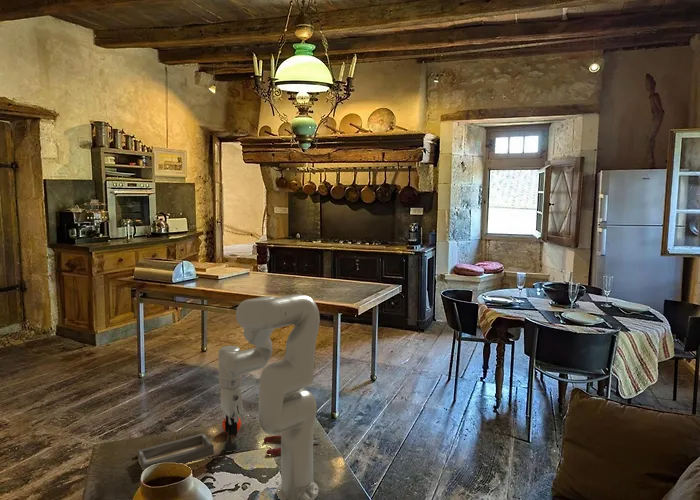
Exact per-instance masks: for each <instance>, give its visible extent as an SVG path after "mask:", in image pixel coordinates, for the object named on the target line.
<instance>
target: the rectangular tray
mask: <svg viewBox="0 0 700 500" xmlns="http://www.w3.org/2000/svg"><path fill="white" fill-rule="evenodd" d="M214 446H215V445H213V443H212V442H211V440H209V437H207V435H206V434H205V433H203V432H202V433H198V434H194V435H191V436H187V437H183V438H179V439H175V440H172V441H169V442H164V443H160V444H157V445H153V446H148V447H145V448H142V449H141V448H140V449H138V450H137V452H138V453H137V454H138V456H137V457H138V459H137V461H138V463H139V465H140V468H141V470H142V471H143V470H144V469H146V468H147V467H149V466H151V465H153V464H157V463H162V462H176V463H184V464H186V463H188V462H192V461H196V460H200V459H204V458H208V457H212V456H214V457H215V451H214V450H215V449H214Z"/></svg>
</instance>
